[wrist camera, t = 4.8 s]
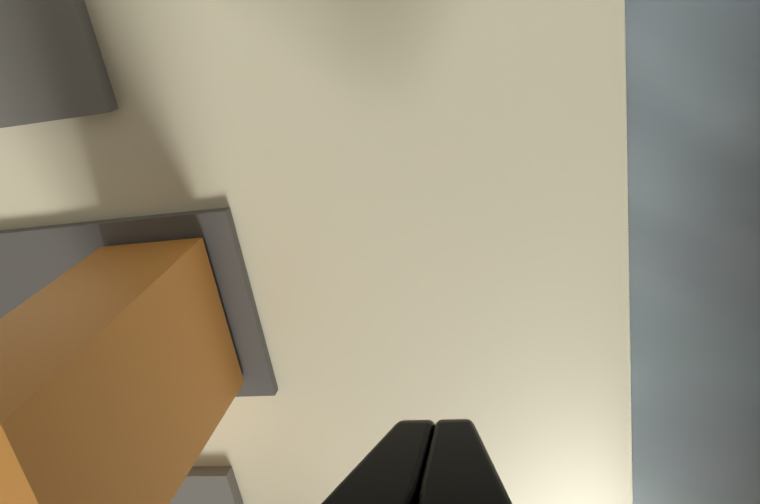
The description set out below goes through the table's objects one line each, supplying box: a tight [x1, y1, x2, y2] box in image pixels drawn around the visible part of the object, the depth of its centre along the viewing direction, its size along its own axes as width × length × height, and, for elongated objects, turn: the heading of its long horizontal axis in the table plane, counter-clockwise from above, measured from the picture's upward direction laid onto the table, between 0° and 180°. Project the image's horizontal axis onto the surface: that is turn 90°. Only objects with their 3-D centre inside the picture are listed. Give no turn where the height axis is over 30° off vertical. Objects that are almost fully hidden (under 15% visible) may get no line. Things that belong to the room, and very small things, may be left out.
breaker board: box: [0, 0, 633, 504], centre depth 14 cm, size 22×14×3 cm, turn 100°
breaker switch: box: [0, 238, 244, 504], centre depth 10 cm, size 2×3×5 cm, turn 10°
